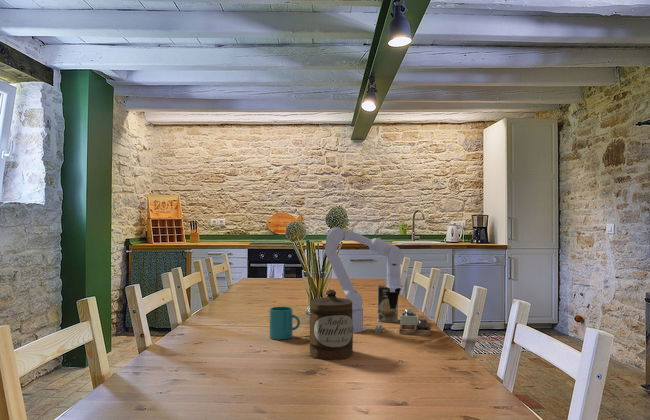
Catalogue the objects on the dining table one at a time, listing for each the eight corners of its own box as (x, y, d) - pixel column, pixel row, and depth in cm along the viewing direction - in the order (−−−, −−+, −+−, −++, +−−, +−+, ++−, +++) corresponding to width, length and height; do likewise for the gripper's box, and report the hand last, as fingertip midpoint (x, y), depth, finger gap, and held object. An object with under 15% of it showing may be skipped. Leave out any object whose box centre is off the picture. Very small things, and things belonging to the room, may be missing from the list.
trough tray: (399, 335, 183) (399, 329, 183) (400, 330, 193) (400, 323, 193) (431, 337, 181) (431, 330, 181) (430, 331, 190) (430, 325, 190)
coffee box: (377, 323, 206) (377, 287, 206) (377, 320, 212) (377, 285, 212) (398, 323, 205) (398, 287, 205) (397, 320, 211) (397, 285, 211)
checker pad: (374, 333, 186) (374, 328, 186) (376, 329, 194) (376, 324, 194) (396, 335, 184) (396, 329, 184) (397, 330, 192) (397, 325, 192)
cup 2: (400, 327, 197) (400, 315, 197) (401, 324, 204) (401, 312, 204) (417, 328, 196) (417, 316, 196) (417, 324, 203) (417, 313, 203)
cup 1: (298, 340, 175) (298, 311, 175) (267, 339, 176) (267, 310, 177) (301, 335, 184) (301, 306, 184) (272, 334, 185) (272, 306, 186)
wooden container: (315, 361, 149) (316, 293, 150) (305, 349, 164) (305, 287, 164) (358, 358, 153) (358, 292, 154) (345, 346, 168) (345, 286, 168)
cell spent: (410, 326, 197) (410, 309, 198) (403, 324, 200) (403, 308, 200) (414, 324, 200) (414, 308, 200) (407, 323, 202) (407, 307, 203)
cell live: (424, 334, 183) (424, 316, 184) (416, 332, 186) (416, 315, 186) (429, 332, 186) (429, 315, 186) (421, 331, 189) (421, 313, 189)
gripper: (402, 276, 184) (402, 310, 184) (404, 272, 198) (404, 304, 198) (384, 276, 186) (384, 309, 185) (387, 272, 200) (387, 303, 199)
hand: (393, 307), depth 192 cm, fingers open, 7 cm apart
